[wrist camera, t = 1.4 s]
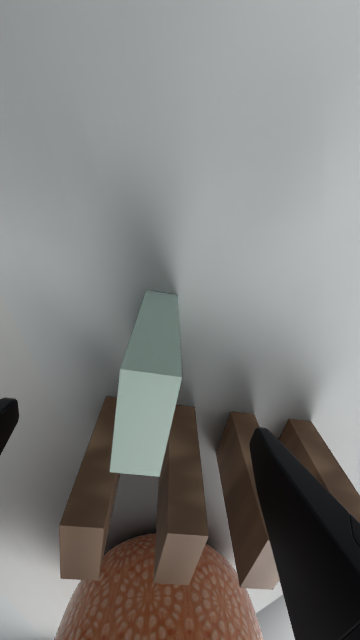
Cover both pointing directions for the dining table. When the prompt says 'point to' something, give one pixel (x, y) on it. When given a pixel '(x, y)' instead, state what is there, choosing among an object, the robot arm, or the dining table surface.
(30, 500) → the dining table surface
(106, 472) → the domino
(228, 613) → the planter
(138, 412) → the domino
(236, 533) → the domino
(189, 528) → the domino
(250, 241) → the dining table surface
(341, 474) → the domino
